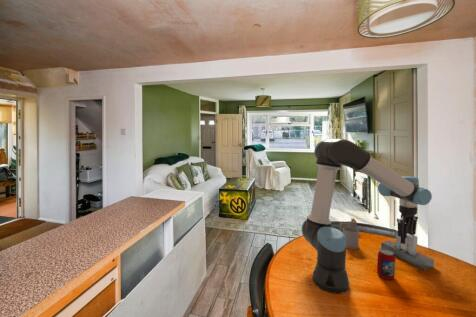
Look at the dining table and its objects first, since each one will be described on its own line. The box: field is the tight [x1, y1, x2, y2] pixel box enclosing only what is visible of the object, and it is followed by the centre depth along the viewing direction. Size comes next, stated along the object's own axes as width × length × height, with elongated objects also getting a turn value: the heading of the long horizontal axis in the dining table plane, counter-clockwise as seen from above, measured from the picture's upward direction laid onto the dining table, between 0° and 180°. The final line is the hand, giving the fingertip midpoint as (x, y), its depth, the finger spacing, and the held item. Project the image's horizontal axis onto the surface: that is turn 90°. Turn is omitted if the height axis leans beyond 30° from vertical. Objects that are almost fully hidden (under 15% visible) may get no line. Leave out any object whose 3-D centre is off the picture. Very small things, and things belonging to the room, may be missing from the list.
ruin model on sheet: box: [338, 218, 358, 233], centre depth 148 cm, size 11×3×10 cm, turn 100°
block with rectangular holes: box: [380, 240, 435, 271], centre depth 117 cm, size 7×22×4 cm, turn 20°
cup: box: [343, 227, 360, 250], centre depth 131 cm, size 8×8×10 cm
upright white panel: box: [395, 230, 418, 256], centre depth 116 cm, size 9×3×10 cm, turn 20°
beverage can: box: [376, 248, 396, 280], centre depth 101 cm, size 7×7×12 cm
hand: (405, 248), depth 116 cm, fingers closed on upright white panel, 3 cm apart
